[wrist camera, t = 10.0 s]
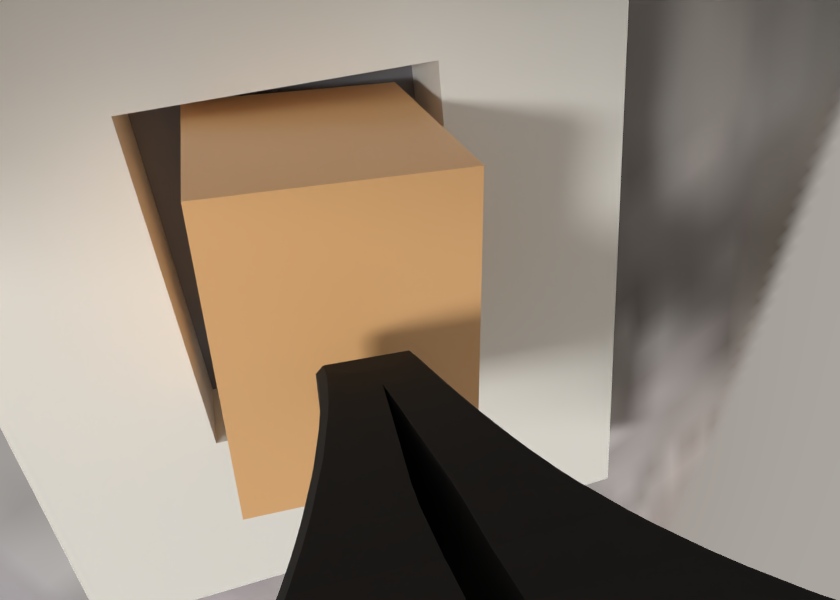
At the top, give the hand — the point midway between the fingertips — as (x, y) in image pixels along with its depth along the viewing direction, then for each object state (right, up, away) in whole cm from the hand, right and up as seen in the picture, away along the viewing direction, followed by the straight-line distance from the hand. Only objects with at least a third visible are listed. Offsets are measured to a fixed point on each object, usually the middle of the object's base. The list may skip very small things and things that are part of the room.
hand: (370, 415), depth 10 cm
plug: (-2, +4, +5) cm, 7 cm away
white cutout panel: (-2, +3, +6) cm, 7 cm away
